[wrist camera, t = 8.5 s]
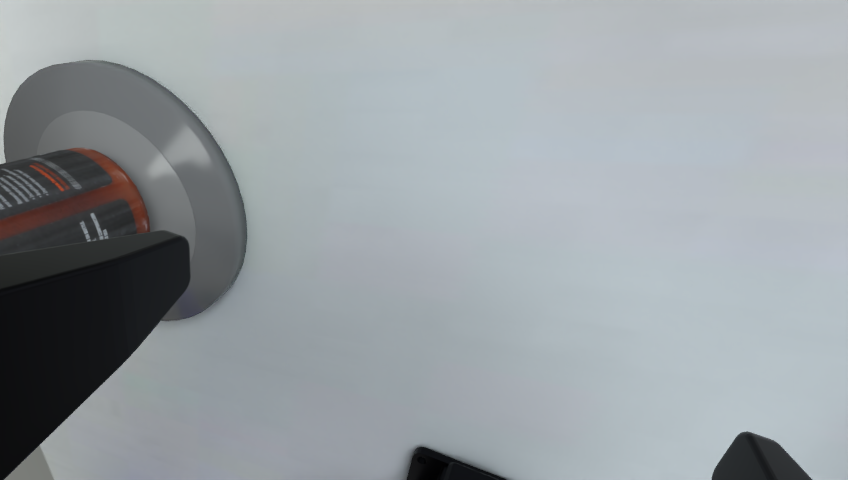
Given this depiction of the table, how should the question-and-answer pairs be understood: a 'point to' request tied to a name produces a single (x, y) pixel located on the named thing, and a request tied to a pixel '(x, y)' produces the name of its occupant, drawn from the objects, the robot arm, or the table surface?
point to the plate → (141, 160)
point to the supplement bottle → (67, 201)
